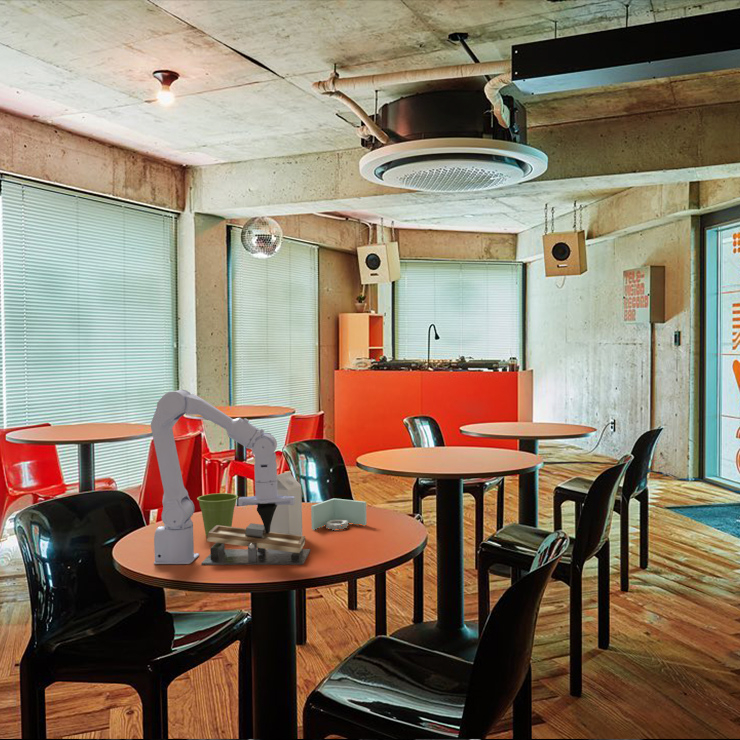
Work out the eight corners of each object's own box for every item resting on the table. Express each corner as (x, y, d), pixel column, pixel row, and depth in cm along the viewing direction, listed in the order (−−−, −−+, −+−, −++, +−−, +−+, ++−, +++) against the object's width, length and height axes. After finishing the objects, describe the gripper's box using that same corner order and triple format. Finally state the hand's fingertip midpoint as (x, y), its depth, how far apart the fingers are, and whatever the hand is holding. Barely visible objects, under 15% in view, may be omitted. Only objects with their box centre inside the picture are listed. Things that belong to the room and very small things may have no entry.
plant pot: (231, 540, 196) (230, 501, 195) (191, 540, 197) (190, 501, 197) (244, 529, 207) (243, 492, 207) (206, 529, 209) (205, 492, 209)
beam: (207, 541, 175) (207, 532, 175) (216, 533, 183) (217, 524, 183) (299, 553, 173) (300, 544, 173) (304, 544, 181) (305, 536, 181)
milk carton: (268, 540, 194) (266, 474, 194) (281, 534, 201) (280, 470, 200) (289, 543, 191) (287, 475, 191) (302, 537, 198) (301, 471, 197)
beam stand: (200, 565, 173) (200, 544, 173) (215, 550, 185) (214, 531, 185) (302, 565, 171) (302, 543, 171) (310, 550, 184) (310, 530, 183)
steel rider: (244, 539, 176) (246, 528, 176) (249, 534, 181) (250, 523, 181) (261, 541, 175) (263, 530, 175) (266, 536, 180) (267, 525, 180)
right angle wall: (311, 530, 205) (311, 505, 205) (334, 522, 216) (333, 498, 216) (345, 535, 199) (344, 509, 199) (366, 526, 209) (366, 501, 209)
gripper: (234, 484, 174) (236, 537, 174) (290, 483, 173) (292, 536, 173) (241, 478, 181) (243, 529, 181) (295, 477, 180) (297, 529, 180)
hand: (267, 532), depth 178 cm, fingers closed
